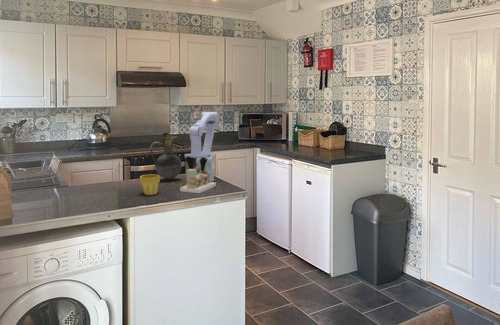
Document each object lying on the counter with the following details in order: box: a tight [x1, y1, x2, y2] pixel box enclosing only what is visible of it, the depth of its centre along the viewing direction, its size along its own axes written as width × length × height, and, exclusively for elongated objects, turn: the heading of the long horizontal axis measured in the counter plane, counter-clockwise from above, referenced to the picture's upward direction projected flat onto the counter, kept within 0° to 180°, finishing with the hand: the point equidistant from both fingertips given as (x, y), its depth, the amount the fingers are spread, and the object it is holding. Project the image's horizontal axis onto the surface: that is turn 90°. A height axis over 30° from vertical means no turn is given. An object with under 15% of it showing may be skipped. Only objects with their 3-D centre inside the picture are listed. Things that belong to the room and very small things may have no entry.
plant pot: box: [139, 174, 161, 196], centre depth 230 cm, size 10×10×10 cm
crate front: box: [185, 168, 197, 178], centre depth 235 cm, size 4×4×4 cm
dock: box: [179, 181, 217, 194], centre depth 243 cm, size 20×12×2 cm, turn 157°
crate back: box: [198, 165, 209, 172], centre depth 249 cm, size 4×4×4 cm
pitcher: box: [149, 132, 183, 182], centre depth 262 cm, size 11×19×30 cm, turn 118°
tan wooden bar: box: [185, 172, 210, 189], centre depth 242 cm, size 18×5×6 cm, turn 157°
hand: (196, 170), depth 247 cm, fingers open, 7 cm apart
